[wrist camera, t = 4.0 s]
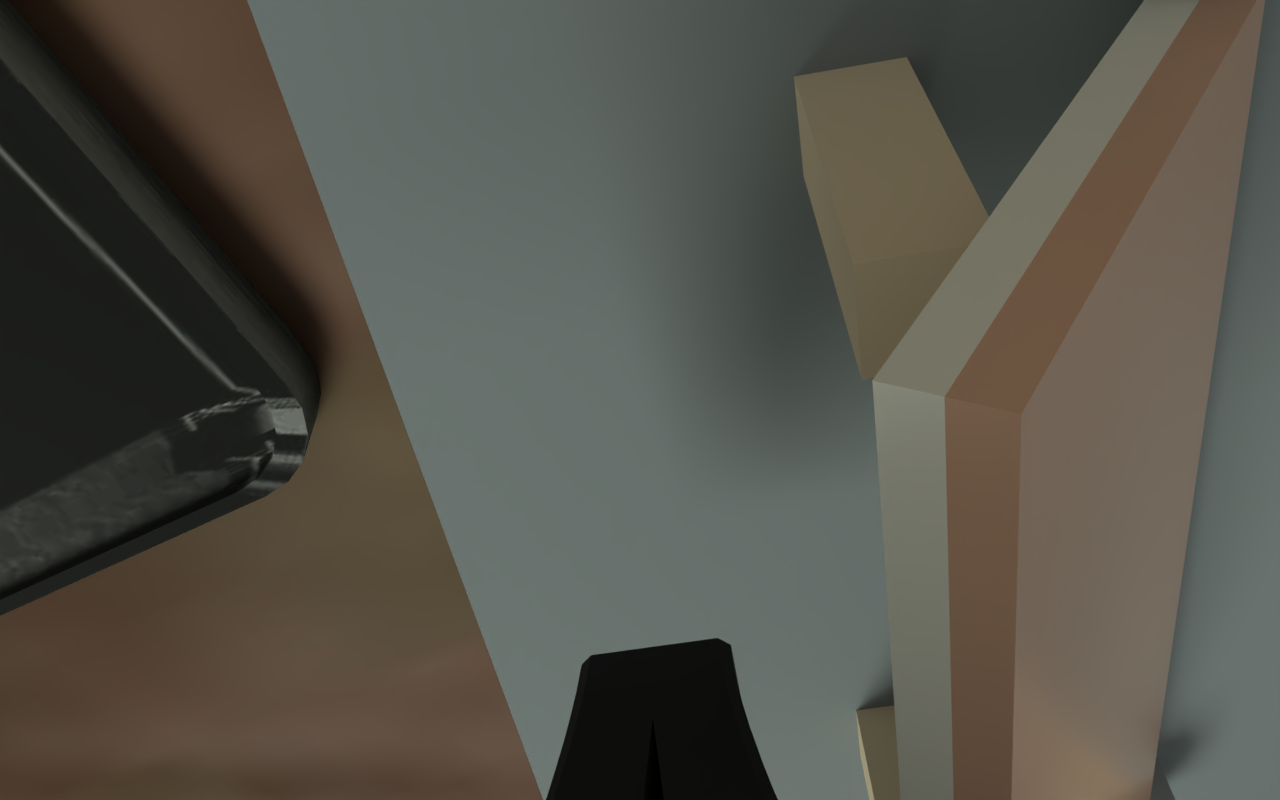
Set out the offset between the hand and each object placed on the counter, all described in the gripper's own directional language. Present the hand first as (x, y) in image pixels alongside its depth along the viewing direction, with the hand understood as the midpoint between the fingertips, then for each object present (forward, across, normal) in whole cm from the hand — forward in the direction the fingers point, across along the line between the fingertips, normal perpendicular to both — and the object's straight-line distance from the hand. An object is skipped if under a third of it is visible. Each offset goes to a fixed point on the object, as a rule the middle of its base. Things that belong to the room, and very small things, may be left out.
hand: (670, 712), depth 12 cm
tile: (0, -4, 0) cm, 4 cm away
